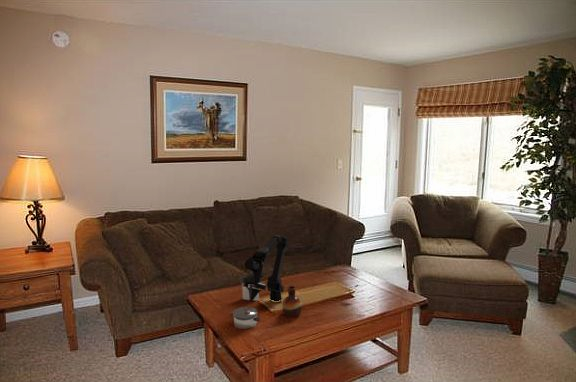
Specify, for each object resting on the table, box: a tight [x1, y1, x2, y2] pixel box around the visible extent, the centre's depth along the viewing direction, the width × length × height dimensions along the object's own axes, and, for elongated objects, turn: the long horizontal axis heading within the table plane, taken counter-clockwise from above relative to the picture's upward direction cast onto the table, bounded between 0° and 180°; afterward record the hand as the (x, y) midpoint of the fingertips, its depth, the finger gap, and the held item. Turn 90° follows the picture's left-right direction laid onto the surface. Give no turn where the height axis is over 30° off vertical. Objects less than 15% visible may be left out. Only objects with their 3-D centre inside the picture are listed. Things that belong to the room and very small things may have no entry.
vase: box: [281, 285, 303, 318], centre depth 218 cm, size 11×11×15 cm
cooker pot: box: [230, 311, 261, 330], centre depth 209 cm, size 12×17×5 cm
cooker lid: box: [232, 306, 258, 319], centre depth 209 cm, size 13×13×2 cm
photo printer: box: [241, 283, 260, 301], centre depth 240 cm, size 10×4×12 cm, turn 72°
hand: (250, 301), depth 213 cm, fingers closed
